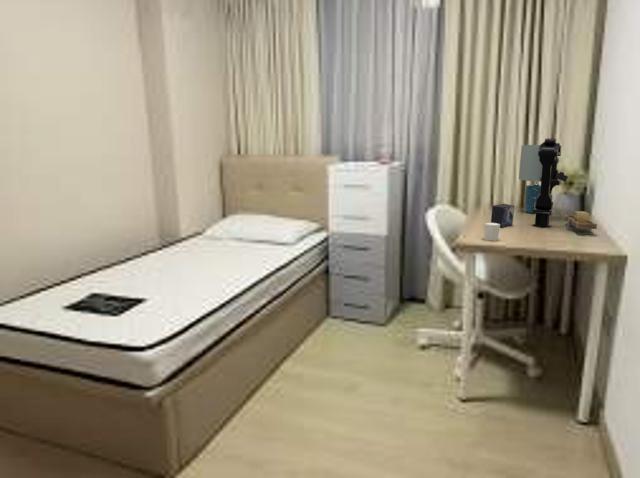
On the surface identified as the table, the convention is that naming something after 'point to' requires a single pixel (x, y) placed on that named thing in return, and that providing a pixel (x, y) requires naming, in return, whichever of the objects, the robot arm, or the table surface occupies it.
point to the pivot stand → (577, 229)
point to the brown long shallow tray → (580, 225)
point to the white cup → (491, 231)
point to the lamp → (530, 174)
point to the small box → (502, 214)
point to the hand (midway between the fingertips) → (548, 197)
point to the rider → (581, 217)
